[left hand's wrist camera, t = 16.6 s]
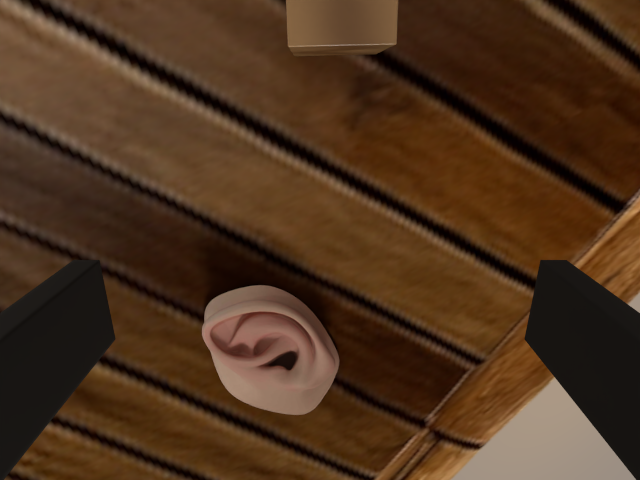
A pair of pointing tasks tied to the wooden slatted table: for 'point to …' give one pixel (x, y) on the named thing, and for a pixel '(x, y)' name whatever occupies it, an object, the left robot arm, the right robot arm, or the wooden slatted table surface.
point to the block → (341, 26)
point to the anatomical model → (270, 349)
